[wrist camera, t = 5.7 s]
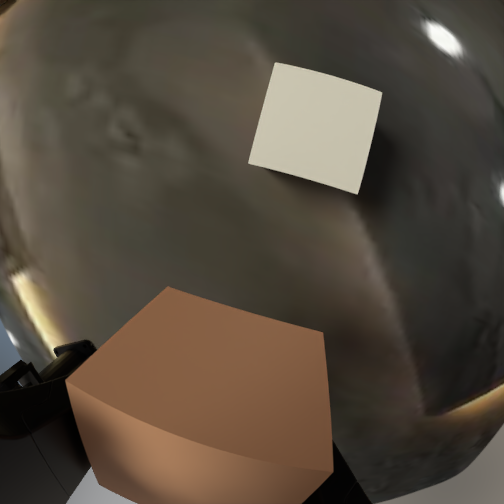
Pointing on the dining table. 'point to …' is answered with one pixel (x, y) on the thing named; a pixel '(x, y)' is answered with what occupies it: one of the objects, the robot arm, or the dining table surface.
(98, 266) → the dining table surface
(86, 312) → the dining table surface
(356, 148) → the off-white cube
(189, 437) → the terracotta cube
